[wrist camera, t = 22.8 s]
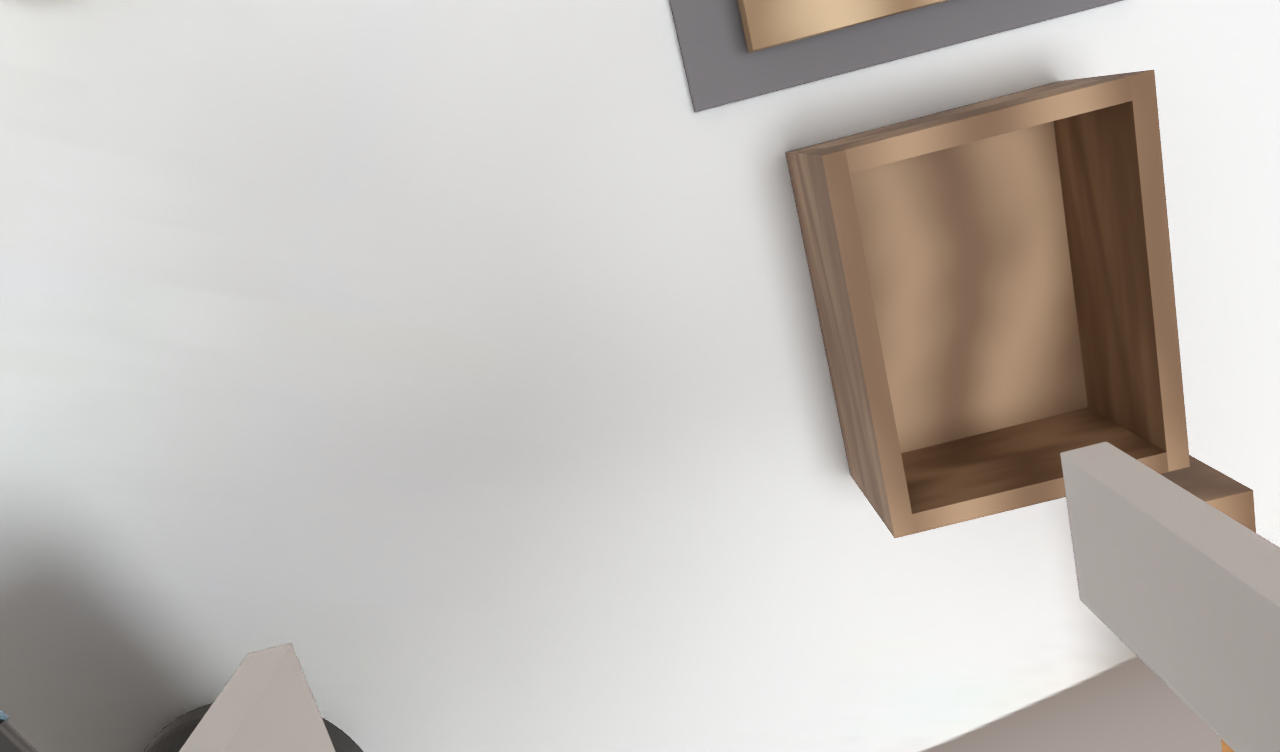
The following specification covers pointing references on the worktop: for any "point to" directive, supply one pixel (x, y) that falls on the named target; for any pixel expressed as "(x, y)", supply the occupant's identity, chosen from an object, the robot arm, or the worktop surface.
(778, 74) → the mat
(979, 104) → the open wooden box
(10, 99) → the worktop surface
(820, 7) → the lid
